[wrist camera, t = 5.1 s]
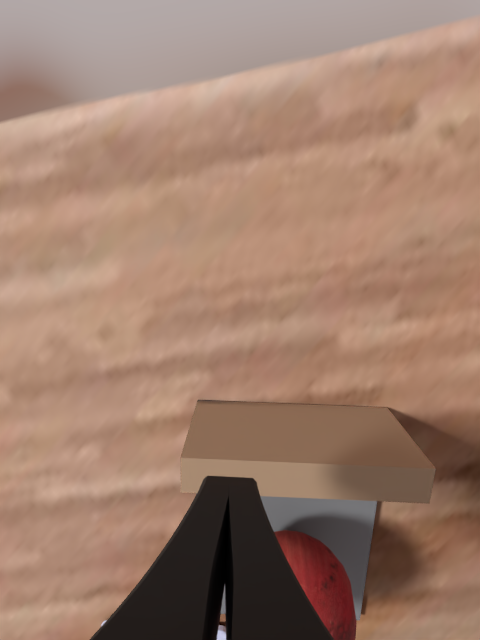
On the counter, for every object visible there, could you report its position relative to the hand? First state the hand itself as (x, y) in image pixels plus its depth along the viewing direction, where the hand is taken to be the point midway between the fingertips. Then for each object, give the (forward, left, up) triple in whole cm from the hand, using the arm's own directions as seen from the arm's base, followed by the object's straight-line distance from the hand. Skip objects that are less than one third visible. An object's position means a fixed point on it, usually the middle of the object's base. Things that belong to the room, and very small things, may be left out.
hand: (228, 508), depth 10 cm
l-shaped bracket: (-8, -3, -9) cm, 13 cm away
